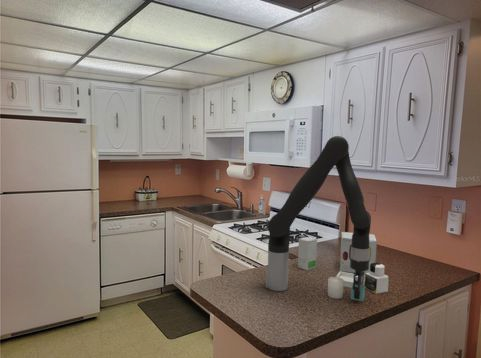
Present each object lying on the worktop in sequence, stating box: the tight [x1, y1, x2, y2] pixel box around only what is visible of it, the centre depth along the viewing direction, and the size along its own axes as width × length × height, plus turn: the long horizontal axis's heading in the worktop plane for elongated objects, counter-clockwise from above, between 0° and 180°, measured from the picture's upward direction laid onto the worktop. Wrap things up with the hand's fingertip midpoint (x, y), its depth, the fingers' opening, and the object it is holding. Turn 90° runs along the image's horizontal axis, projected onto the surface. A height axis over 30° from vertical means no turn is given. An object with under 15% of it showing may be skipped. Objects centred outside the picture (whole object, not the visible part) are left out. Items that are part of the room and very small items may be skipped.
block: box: [350, 284, 366, 302], centre depth 150 cm, size 5×5×5 cm
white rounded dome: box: [327, 276, 344, 299], centre depth 152 cm, size 6×6×7 cm
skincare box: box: [297, 236, 318, 271], centre depth 187 cm, size 8×7×16 cm
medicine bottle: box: [364, 262, 389, 294], centre depth 159 cm, size 7×7×12 cm
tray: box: [335, 270, 365, 289], centre depth 167 cm, size 12×12×3 cm
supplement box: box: [339, 231, 378, 274], centre depth 185 cm, size 17×13×18 cm
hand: (358, 294), depth 150 cm, fingers open, 8 cm apart
